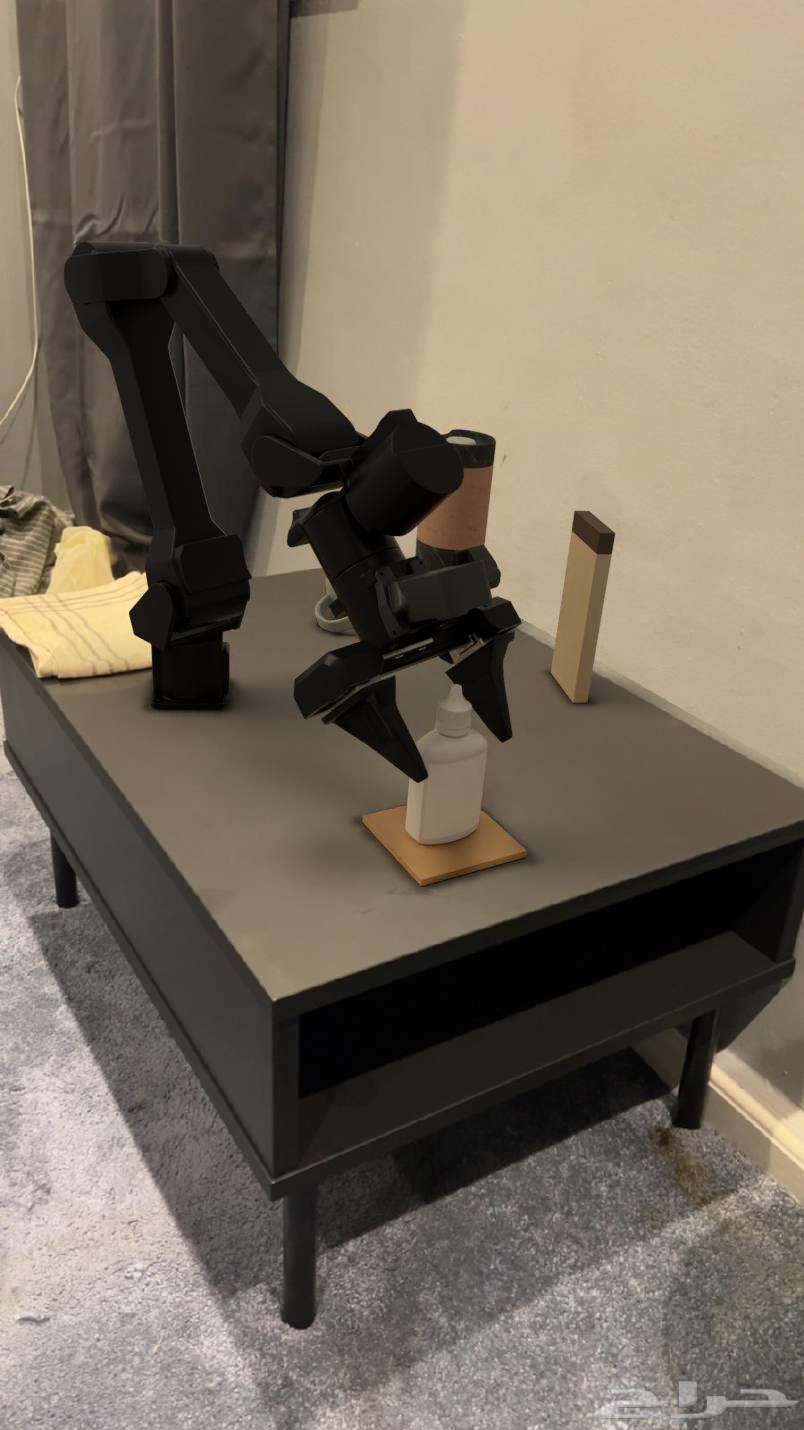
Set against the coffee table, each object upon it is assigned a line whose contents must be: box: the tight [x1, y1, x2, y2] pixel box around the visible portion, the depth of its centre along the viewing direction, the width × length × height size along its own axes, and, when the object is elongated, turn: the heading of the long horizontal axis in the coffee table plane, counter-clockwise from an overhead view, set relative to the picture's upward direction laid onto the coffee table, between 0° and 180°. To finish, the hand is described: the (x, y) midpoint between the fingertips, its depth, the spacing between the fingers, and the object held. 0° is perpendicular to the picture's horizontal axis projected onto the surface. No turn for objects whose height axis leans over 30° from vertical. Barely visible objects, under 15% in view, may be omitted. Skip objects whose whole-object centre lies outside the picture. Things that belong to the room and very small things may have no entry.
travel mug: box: [414, 428, 497, 624], centre depth 116 cm, size 8×8×20 cm
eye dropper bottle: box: [405, 683, 488, 845], centre depth 76 cm, size 4×6×12 cm
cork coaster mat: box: [362, 804, 528, 887], centre depth 79 cm, size 9×9×1 cm
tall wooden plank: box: [550, 510, 616, 704], centre depth 101 cm, size 2×7×17 cm, turn 10°
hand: (467, 759), depth 75 cm, fingers open, 9 cm apart
